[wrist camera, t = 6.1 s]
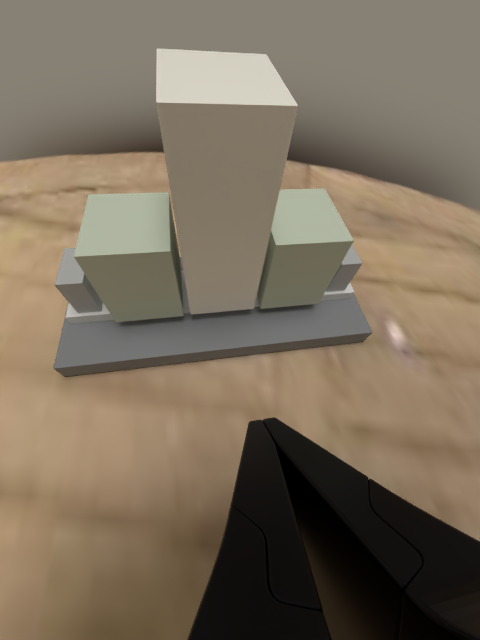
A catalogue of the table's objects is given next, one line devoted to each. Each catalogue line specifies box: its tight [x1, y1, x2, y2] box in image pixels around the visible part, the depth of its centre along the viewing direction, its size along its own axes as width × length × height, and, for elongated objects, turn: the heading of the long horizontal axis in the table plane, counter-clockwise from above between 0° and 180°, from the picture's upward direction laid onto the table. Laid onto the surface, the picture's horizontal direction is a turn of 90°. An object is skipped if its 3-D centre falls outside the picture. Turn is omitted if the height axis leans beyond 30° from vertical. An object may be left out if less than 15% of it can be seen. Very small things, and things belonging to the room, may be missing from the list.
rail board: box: [53, 189, 372, 377], centre depth 18 cm, size 9×22×8 cm, turn 99°
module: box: [156, 49, 298, 315], centre depth 15 cm, size 5×4×12 cm
